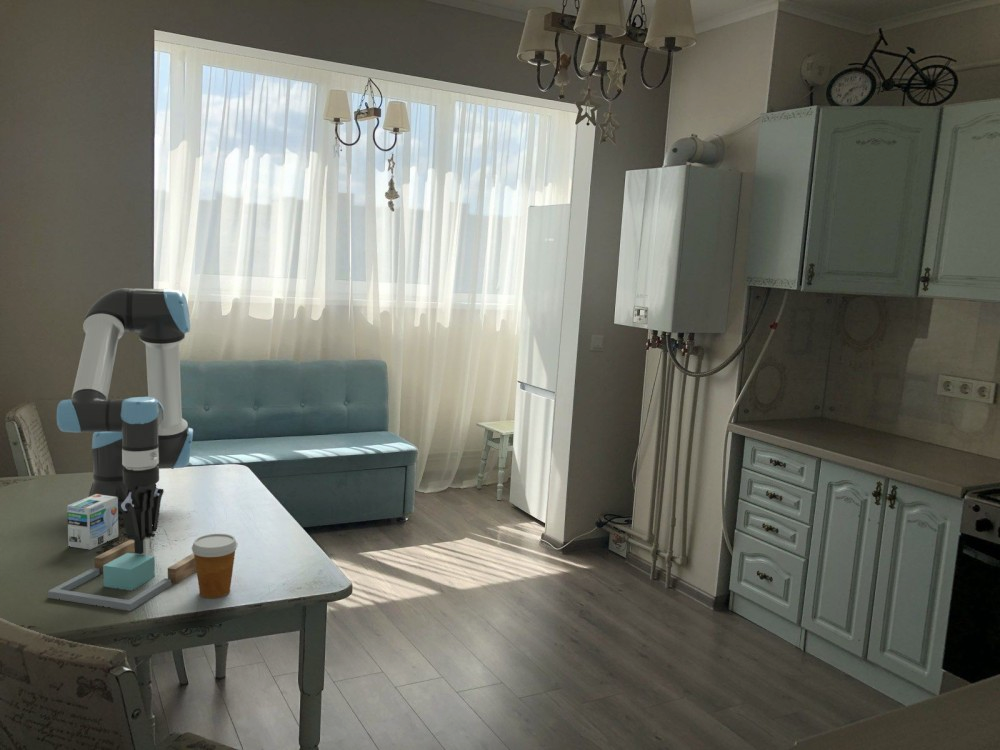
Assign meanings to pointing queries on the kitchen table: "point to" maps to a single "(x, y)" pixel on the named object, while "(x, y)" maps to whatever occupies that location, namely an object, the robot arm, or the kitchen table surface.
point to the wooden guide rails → (174, 571)
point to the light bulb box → (92, 521)
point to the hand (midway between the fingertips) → (143, 564)
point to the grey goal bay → (67, 595)
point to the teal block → (129, 571)
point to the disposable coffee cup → (214, 563)
